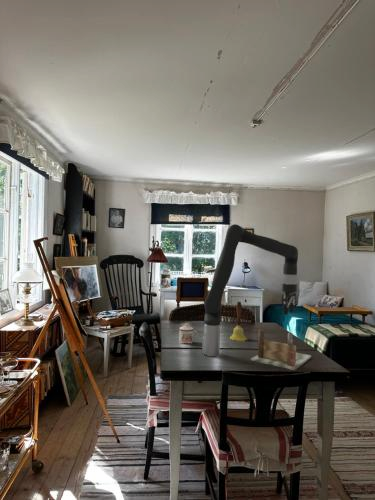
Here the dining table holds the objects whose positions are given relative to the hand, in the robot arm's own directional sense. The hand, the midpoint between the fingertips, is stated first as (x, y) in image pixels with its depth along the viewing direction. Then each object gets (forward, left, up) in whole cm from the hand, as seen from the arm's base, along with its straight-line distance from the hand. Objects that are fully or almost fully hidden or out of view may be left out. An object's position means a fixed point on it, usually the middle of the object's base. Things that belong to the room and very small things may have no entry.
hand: (288, 313), depth 185 cm
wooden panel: (-4, -1, -25) cm, 26 cm away
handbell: (-44, +29, -27) cm, 60 cm away
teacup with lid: (-64, -1, -27) cm, 70 cm away
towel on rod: (-5, +6, -27) cm, 28 cm away
